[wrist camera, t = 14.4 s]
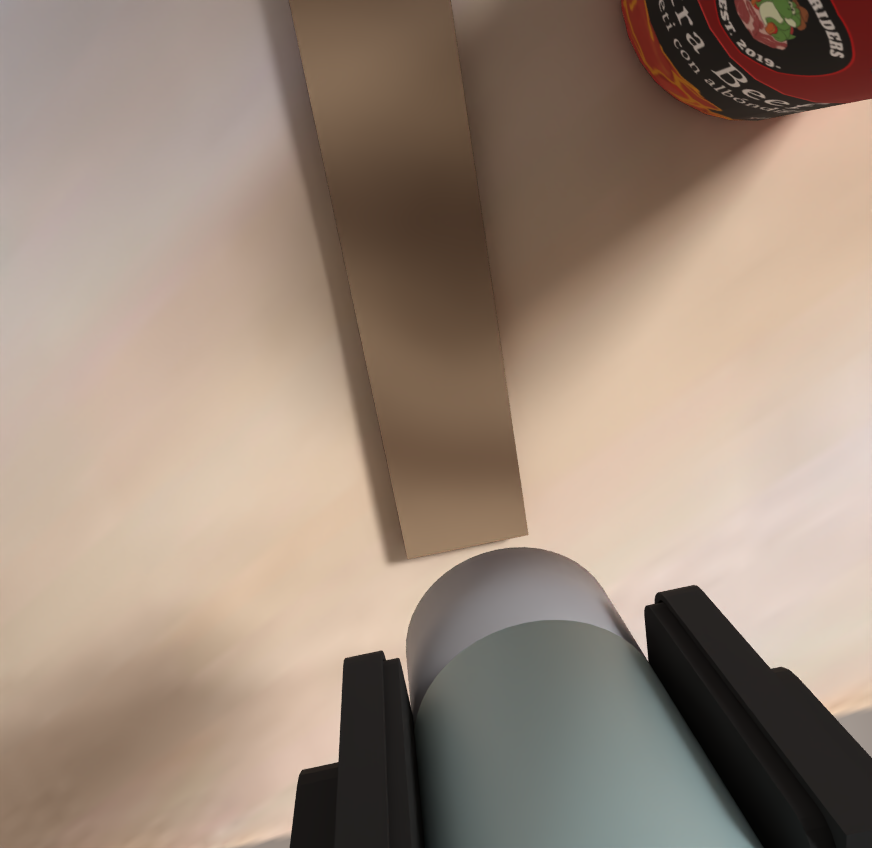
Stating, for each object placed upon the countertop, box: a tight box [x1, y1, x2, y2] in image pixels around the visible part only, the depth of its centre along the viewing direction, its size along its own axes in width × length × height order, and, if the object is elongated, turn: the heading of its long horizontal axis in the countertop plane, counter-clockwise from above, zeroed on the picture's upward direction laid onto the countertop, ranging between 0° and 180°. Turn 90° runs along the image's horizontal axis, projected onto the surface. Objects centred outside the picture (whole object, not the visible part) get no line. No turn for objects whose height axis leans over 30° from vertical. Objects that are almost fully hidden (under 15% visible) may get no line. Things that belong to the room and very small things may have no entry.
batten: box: [289, 0, 528, 559], centre depth 19 cm, size 22×4×1 cm, turn 10°
